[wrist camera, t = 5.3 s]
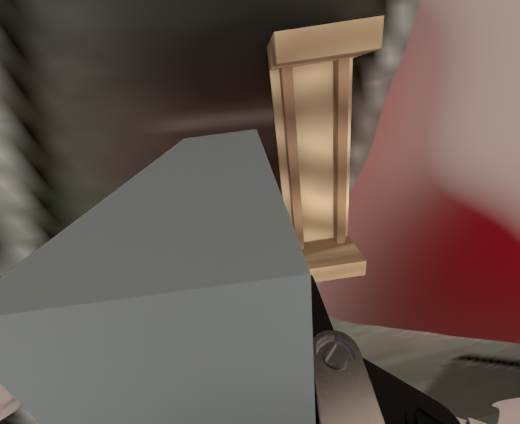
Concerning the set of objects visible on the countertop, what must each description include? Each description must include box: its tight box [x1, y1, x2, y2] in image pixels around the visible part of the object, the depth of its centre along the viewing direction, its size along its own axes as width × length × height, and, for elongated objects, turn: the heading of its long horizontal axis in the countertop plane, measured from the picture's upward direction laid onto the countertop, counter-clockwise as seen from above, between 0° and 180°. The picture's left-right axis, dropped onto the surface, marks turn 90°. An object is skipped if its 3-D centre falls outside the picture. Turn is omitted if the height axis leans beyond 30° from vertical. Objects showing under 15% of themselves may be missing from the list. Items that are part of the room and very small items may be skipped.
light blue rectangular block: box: [0, 129, 316, 424], centre depth 9 cm, size 12×3×9 cm, turn 7°
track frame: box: [267, 15, 384, 282], centre depth 25 cm, size 24×8×6 cm, turn 8°
